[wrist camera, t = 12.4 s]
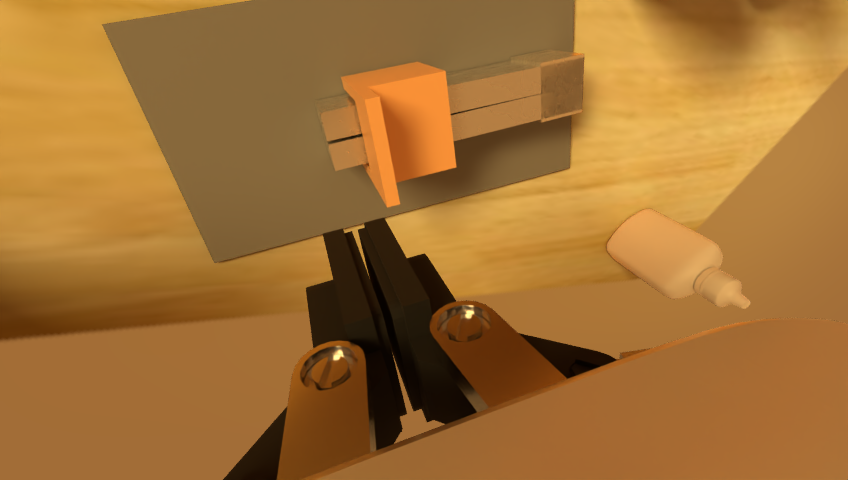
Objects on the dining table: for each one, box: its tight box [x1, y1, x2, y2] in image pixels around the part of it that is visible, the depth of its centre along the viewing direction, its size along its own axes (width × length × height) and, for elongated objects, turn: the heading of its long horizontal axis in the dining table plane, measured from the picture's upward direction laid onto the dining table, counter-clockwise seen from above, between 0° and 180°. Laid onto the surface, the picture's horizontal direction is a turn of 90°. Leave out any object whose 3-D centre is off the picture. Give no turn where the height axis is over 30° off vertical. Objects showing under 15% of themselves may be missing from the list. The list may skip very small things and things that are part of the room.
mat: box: [102, 0, 574, 263], centre depth 29 cm, size 28×15×1 cm, turn 99°
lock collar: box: [341, 62, 456, 208], centre depth 25 cm, size 5×6×8 cm
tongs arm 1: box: [322, 84, 583, 171], centre depth 28 cm, size 16×2×4 cm, turn 99°
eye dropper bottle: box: [606, 209, 750, 309], centre depth 36 cm, size 4×6×12 cm
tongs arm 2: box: [315, 50, 584, 141], centre depth 27 cm, size 16×2×4 cm, turn 99°
